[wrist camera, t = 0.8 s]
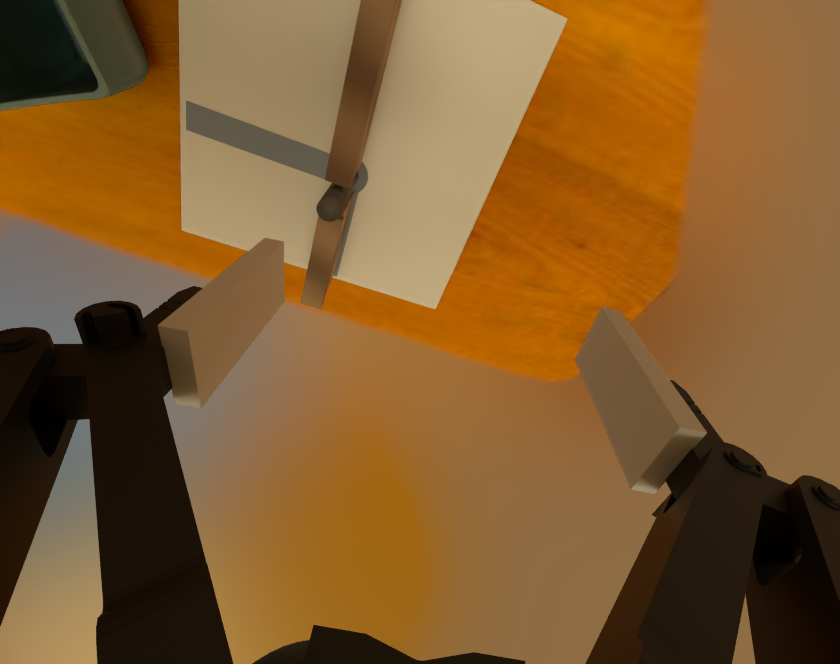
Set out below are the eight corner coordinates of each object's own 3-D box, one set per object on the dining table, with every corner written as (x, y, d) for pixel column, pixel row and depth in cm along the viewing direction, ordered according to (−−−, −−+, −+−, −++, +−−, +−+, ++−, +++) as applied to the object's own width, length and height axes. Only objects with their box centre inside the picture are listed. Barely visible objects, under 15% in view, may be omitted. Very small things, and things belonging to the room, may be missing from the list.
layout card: (184, -167, 23) (175, -175, 22) (563, 19, 28) (568, 18, 27) (186, 226, 38) (181, 230, 37) (435, 304, 43) (435, 309, 42)
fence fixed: (341, 161, 33) (317, 194, 26) (362, 169, 34) (343, 204, 26) (318, 266, 39) (293, 317, 32) (336, 272, 40) (315, 323, 32)
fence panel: (362, 164, 33) (349, 188, 28) (342, 157, 33) (324, 180, 27) (410, -22, 26) (404, -40, 21) (384, -35, 26) (372, -56, 20)
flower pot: (123, -72, 26) (5, -116, 19) (184, 84, 31) (110, 97, 24) (2, -52, 27) (-157, -87, 19) (82, 97, 32) (-20, 114, 25)
